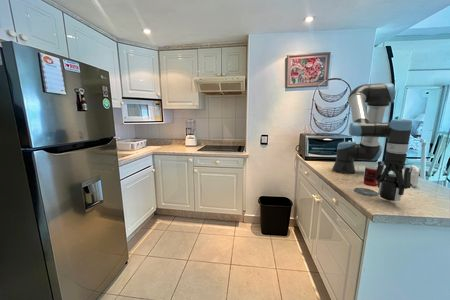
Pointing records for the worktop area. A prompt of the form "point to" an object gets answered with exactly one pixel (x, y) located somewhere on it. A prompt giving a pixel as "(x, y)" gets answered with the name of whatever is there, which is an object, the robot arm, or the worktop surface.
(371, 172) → the canned food
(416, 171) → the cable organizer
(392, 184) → the supplement bottle
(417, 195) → the worktop surface
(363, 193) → the coaster
